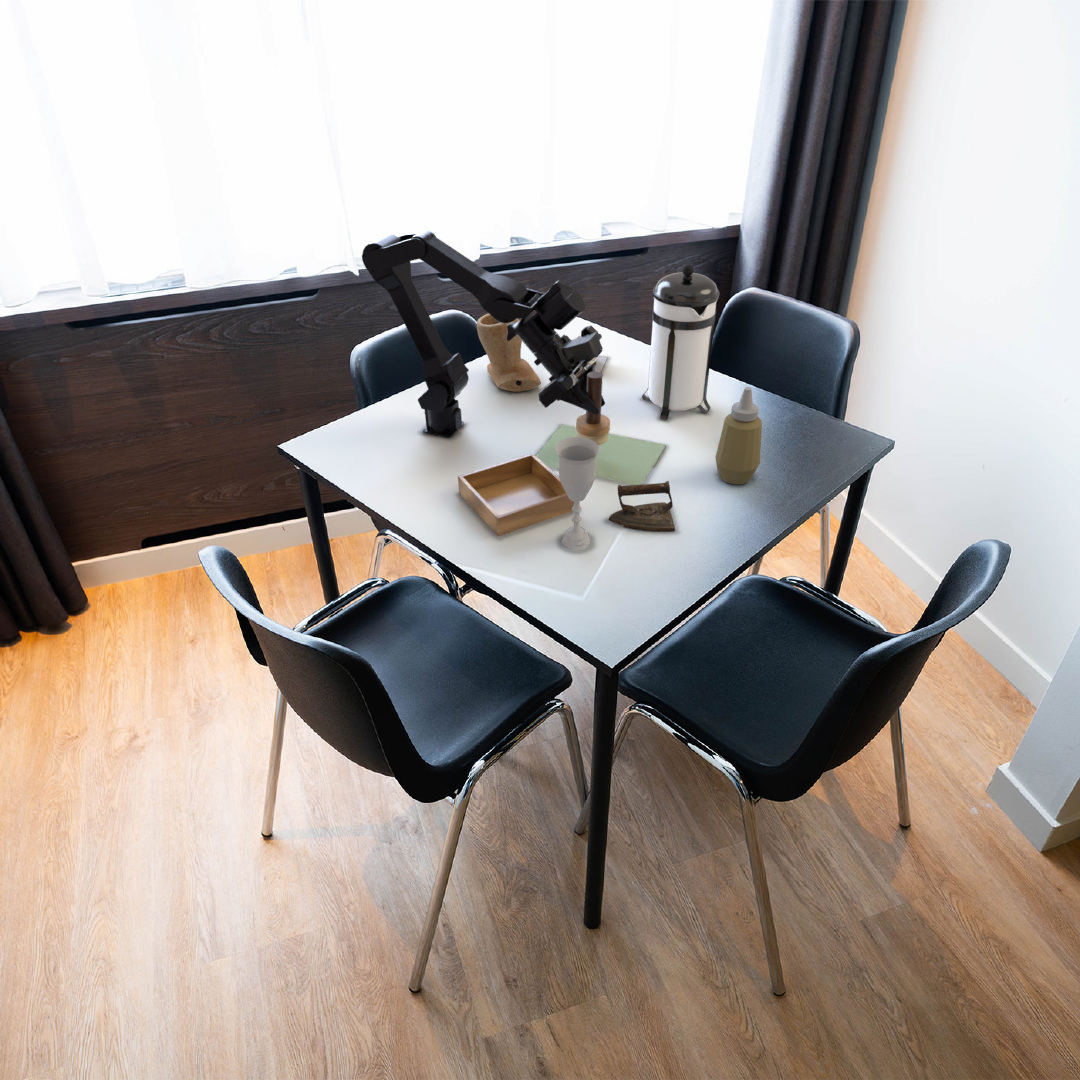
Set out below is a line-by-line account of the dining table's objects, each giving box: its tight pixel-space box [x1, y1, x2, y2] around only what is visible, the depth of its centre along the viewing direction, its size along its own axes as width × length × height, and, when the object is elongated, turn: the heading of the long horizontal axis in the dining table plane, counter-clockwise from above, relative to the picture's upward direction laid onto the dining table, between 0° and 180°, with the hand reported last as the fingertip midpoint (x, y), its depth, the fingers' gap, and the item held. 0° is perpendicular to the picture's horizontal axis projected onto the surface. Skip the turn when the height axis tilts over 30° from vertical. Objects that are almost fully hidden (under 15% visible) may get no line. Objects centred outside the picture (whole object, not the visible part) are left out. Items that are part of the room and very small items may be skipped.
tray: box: [457, 452, 574, 537], centre depth 149 cm, size 15×15×4 cm
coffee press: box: [641, 263, 720, 421], centre depth 171 cm, size 17×16×30 cm
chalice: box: [556, 437, 599, 550], centre depth 135 cm, size 7×7×18 cm
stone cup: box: [476, 313, 542, 393], centre depth 185 cm, size 15×12×15 cm
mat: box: [535, 424, 667, 485], centre depth 163 cm, size 22×16×1 cm
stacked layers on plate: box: [579, 335, 608, 373], centre depth 194 cm, size 10×9×6 cm
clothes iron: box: [608, 480, 676, 533], centre depth 143 cm, size 7×11×10 cm, turn 92°
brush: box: [575, 372, 611, 445], centre depth 156 cm, size 6×6×13 cm
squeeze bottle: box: [714, 386, 763, 485], centre depth 151 cm, size 8×8×18 cm
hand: (600, 409), depth 156 cm, fingers closed on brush, 3 cm apart
